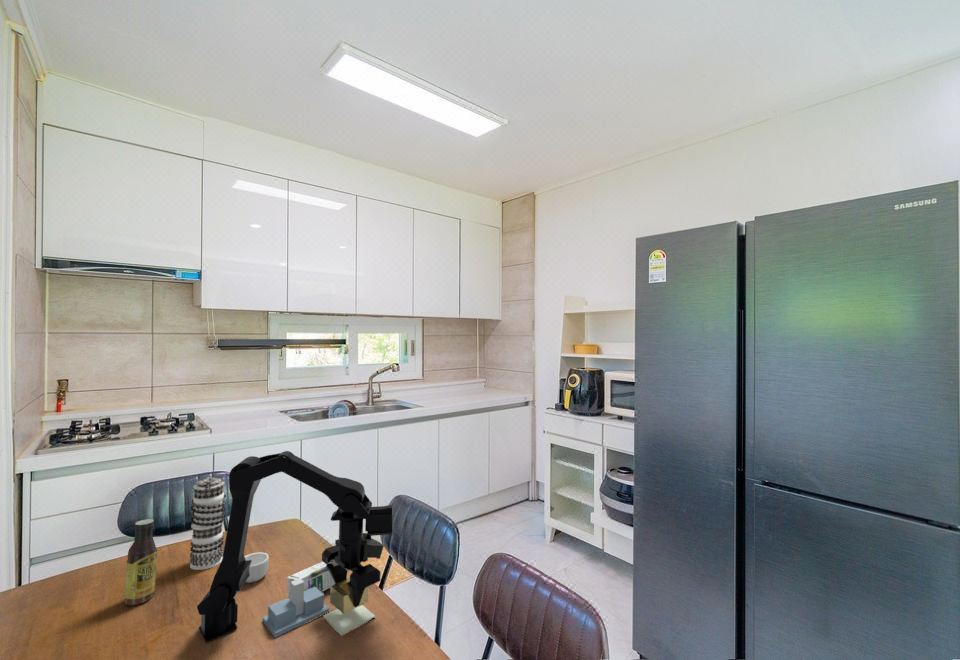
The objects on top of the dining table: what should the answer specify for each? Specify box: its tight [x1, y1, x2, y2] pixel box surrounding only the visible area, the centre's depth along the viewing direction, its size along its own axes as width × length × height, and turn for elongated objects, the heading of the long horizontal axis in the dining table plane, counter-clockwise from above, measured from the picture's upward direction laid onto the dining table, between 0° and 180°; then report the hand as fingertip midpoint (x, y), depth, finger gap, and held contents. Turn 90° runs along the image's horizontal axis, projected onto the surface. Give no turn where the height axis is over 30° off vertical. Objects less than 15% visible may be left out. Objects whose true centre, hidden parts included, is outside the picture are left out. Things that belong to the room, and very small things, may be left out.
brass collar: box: [329, 577, 369, 614], centre depth 105 cm, size 7×7×4 cm
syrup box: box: [286, 561, 335, 600], centre depth 116 cm, size 6×6×14 cm
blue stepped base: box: [262, 578, 330, 638], centre depth 105 cm, size 13×8×8 cm, turn 136°
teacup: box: [244, 551, 270, 584], centre depth 122 cm, size 10×8×5 cm
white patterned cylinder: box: [189, 476, 227, 571], centre depth 130 cm, size 9×9×25 cm
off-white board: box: [322, 604, 376, 636], centre depth 105 cm, size 9×9×1 cm
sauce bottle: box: [123, 518, 158, 606], centre depth 111 cm, size 6×6×20 cm
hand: (349, 599), depth 105 cm, fingers closed on brass collar, 7 cm apart
